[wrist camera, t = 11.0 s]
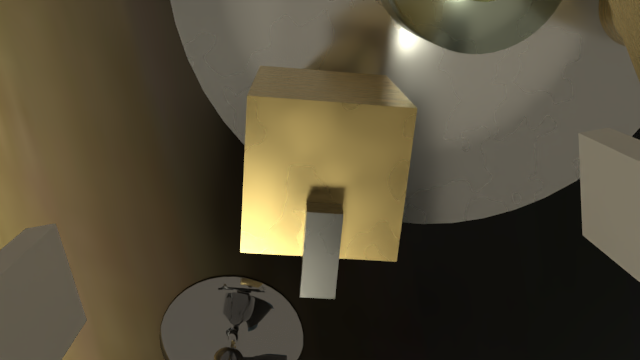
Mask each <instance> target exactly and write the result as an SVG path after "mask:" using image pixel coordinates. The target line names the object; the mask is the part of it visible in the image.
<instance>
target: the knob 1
mask: <svg viewBox="0 0 640 360" xmlns="http://www.w3.org/2000/svg"><path fill="white" fill-rule="evenodd" d="M416 115H417V107H416V106H415V105H414V104H413V103H412V102H411V101H410V100H409V99H408V98H407V97H406V96H405V95H404V94H403V93H402V92H401V91H400V89H399V88H398V87H397V86H396V85H395V84H394V83H393V82H392V81H391V80H390V79H389V78H388V77H387V76H386V75H375V74H362V73H349V72H336V71H323V70H311V69H298V68H285V67H272V66H260V67H259V70H258V72H257V74H256V76H255V79H254V81H253V83H252V86H251V88H250V90H249V92H248V95H247V108H246V131H245V154H244V176H243V199H242V222H241V244H240V253H256V254H273V255H290V256H302V262H301V275H300V297H305V298H324V299H335V293H336V283H337V273H338V264H339V258H341V259H358V260H375V261H392V262H397V256H398V248H399V241H400V234H401V226H402V219H403V211H404V204H405V196H406V189H407V182H408V174H409V167H410V159H411V152H412V144H413V137H414V130H415V122H416Z"/></svg>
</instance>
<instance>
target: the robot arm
mask: <svg viewBox="0 0 640 360" xmlns="http://www.w3.org/2000/svg"><path fill="white" fill-rule="evenodd" d="M578 136H579V161H580V186H581V211H582V235H583V236H584V237H585V238H587V239H588V240H589V241H590V242H591V243H593V244H594V245H595V246H596V247H598V248H599V249H600V250H601V251H602V252H604V253H605V254H606V255H607V256H609V257H610V258H611V259H612V260H613V261H615V262H616V263H617V264H618V265H619V266H621V267H622V268H623V269H624V270H626V271H627V272H628V273H629V274H630V275H632V276H633V277H634V278H635V279H637V280H638V281H639V282H640V140H638V139H636V138H634V137H631V136H629V135H626V134H624V133H621V132H619V131H616V130H614V129H612V128H603V129H598V130H592V131H586V132H580V133H578ZM86 321H87V319H86V316H85V313H84V310H83V307H82V304H81V301H80V298H79V295H78V291H77V288H76V285H75V282H74V279H73V276H72V273H71V270H70V267H69V263H68V260H67V257H66V254H65V251H64V248H63V245H62V242H61V239H60V236H59V232H58V229H57V226H56V224H50V225H44V226H39V227H33V228H27V229H25V230H23V231H22V232H21V233H20V234H19V235H18V236H16V237H15V238H14V239H13V240H12V241H11V242H9V243H8V244H7V245H6V246H5V247H4V248H2V249H1V250H0V360H62V358H63V357H64V355H65V353H66V352H67V350H68V349H69V347H70V346H71V344H72V343H73V341H74V339H75V338H76V336H77V335H78V333H79V332H80V330H81V329H82V327H83V326H84V324H85V322H86Z"/></svg>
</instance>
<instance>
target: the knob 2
mask: <svg viewBox="0 0 640 360" xmlns="http://www.w3.org/2000/svg"><path fill="white" fill-rule="evenodd" d="M599 18H600V22H601V25H602V27H603V29H604V31H605V32H606V34H607V35H608V36H609V37H610V38H611V39H612V40H613V41H615V42H616V43H618V44H620V45H623V46H626V48H627V51H628V54H629V56H630V59H631V61H632V64H633V66H634V69H635V72H636V74H637V77H638V79H639V82H640V0H599Z"/></svg>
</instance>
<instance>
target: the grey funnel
mask: <svg viewBox="0 0 640 360" xmlns="http://www.w3.org/2000/svg"><path fill="white" fill-rule="evenodd" d="M303 345H304V333H303V328H302V323H301V321H300V318H299V316H298V314H297V312H296V310H295V309H294V307H293V306H292V304H291V303H290V302H289V301H288V300H287V299H286V298H285V297H284V296H283V295H282V294H281V293H280V292H278V291H277V290H276V289H274V288H273V287H271V286H269V285H267V284H265V283H263V282H261V281H258V280H255V279H251V278H248V277H241V276H219V277H213V278H209V279H206V280H203V281H200V282H197V283H195V284H194V285H192V286H190V287H188V288H186V289H185V290H184V291H183V292H181V293H180V294H179V295H178V296H177V297H176V298H175V299H174V300H173V301H172V303H171V304H170V305H169V307H168V309H167V310H166V312H165V314H164V317H163V320H162V323H161V327H160V346H161V350H162V353H163V356H164V359H165V360H300V357H301V355H302V350H303Z"/></svg>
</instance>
